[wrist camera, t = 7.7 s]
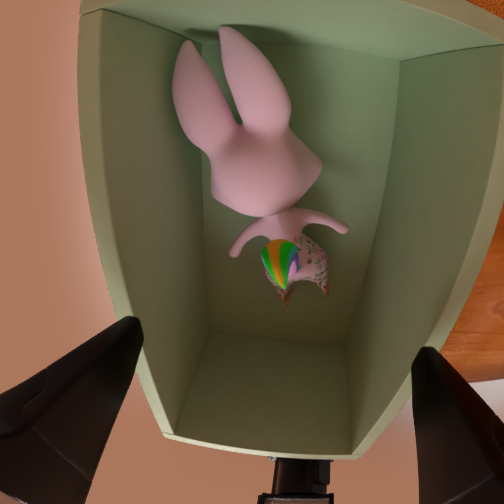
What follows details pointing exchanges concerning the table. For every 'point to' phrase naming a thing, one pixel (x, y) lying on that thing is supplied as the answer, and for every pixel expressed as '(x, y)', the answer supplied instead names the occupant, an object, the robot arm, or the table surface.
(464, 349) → the table surface
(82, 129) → the bin
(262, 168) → the rabbit figure
